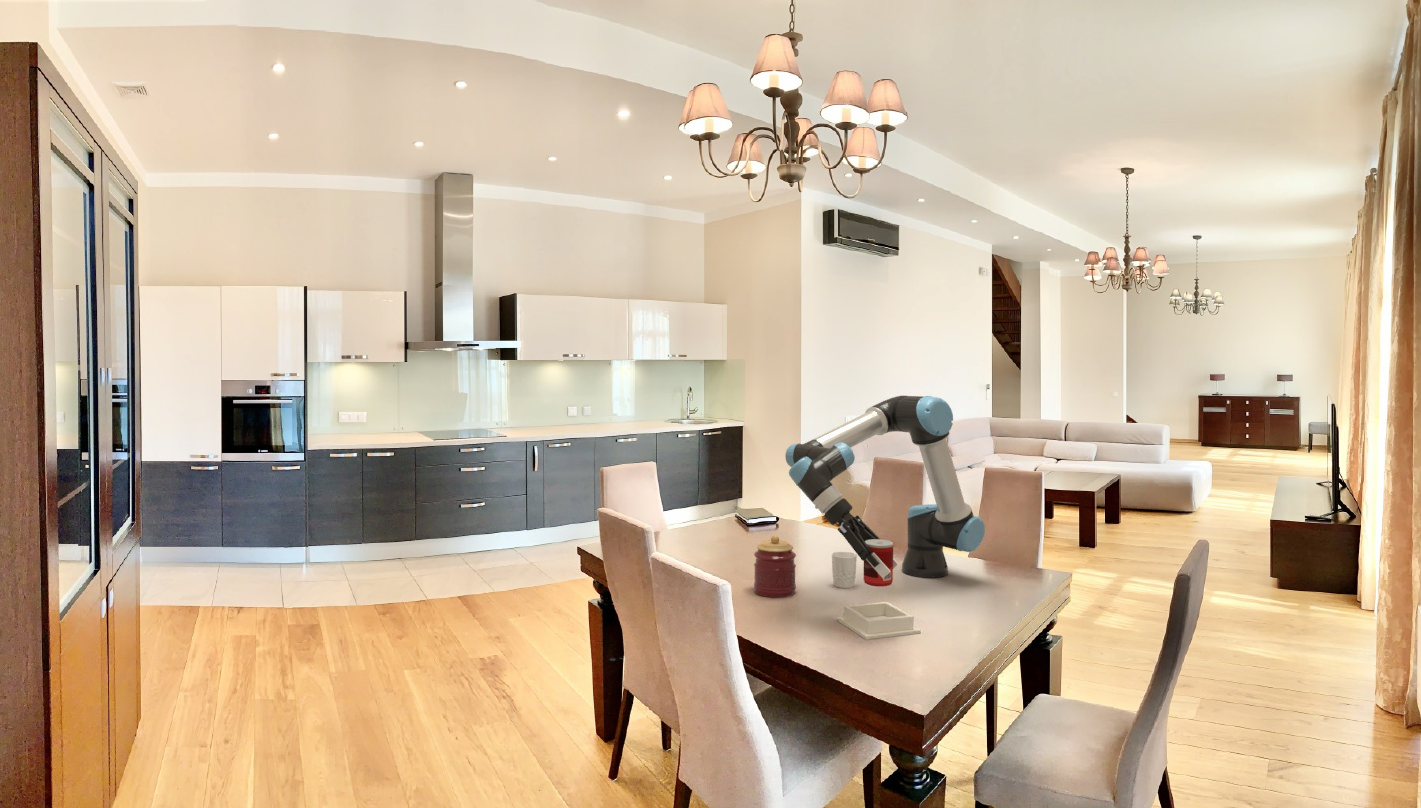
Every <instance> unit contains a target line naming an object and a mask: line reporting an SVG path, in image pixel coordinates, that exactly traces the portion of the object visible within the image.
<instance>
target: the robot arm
mask: <svg viewBox="0 0 1421 808" xmlns="http://www.w3.org/2000/svg"><path fill="white" fill-rule="evenodd" d="M953 415H954V414H953V411H952V408H951V406H950V405H949V403H948V402H947V401H946V400H945V399H943V398H941V397H937V396H931V395H925V396H921V395H920V396H919V395H898V396H894V397H891V398H888V399H885V400H883V401H881V402H879V403H876V404H874V405H872V406H870V407H868V408H867V409H866V410H865V412H864V413H863V414H861V415H859V416H857V417H855V418H853V419H852V420H849V421H847V422H845V423H843V424H841V425H839V426H837V427H836V428H833V429H831V430H829V431H827V432H825V433H823V434H821V435H819V436H817V437H815V438H813V439H811V440H809V441H806V442H805V443H793V444H790V445H789V446H788V447H787V448H786V450H785V451H786V452H785V461H786V463H787V465H788V466H789V467H790V468H789V471H788V475H789V477H790V478H791V480H792V481H793V482H794V484H795V485H796V486H797V487H798V488H799V489H800V490H801V491H802V493H803V494H804V495H805V496H806V497H807V498H808V499H809V501H811V503H812V504H813V505H814V508H815V509H816V510H818V511H819V512H820V513H822V514H824V518H825V519H826V520H827V521H828V522H829V523H830V524H831V525H832V526H834V525H836V524H838V525H839V527H838V528H837V531H838V532H839V533H840V535H842V537H844V539H845V540H846V541H847V543H848V544H849V546H850V547H851V548H852V549H853V551H854V552H855V554H856V555H857V557H859V558H860V560H861V561H862V562H864V560H865V559H866V560H867V561H868V562H869V563H870V564H871V566H872V567H873V568H874V569H875V570H876V571H877V572H878V574H879V575H880V576H881V577H882V578H884V577H885V576H886V575H887V574H889V573H890V572H891V571H890V570H889V569H888V568H887V567H886V565H885V564H884V563H883V562H882V561H881V560H880V559H879V557H878V556H877V555H876V554H875V553H874V552H873V553H872V552H871V550H870V549H869V547H868V546H867V544H866V543H865V541H866V540H871V539H881V538H880V537H879V536H878V535H877V534H876V532H874V531H873V530H872V529H871V528H870V527H869V526H868V525H867V524H866V523H865V522H864V521H863V520H862V519H861V517H860V516H859V515H855V516H854V515H853V514H851V513H850V512H851V511H852V509H853V506H852V505H851V503H850V502H849V501H848V500H847V499H846V498H844V497H843V494H842V493H841V492H840V491H839V490H838V489H837V487H835V485H834V484H833V483H832V482H831V481H833V479H835V478H836V477H838V476H839V475H840V474H842V473H844V472H845V471H847V470H848V468H850V466H852V465H853V464H854V463H855V454H854V451H853V450H852V449H853V447H854V446H857V445H859V444H862V442H864V441H867V440H868V439H870V438H873V437H874V436H883V435H885V434H887V433H893V432H903V433H909V435H910V438H911V439H910V440H911V441H912V443H913V445H915V446H918V447H919V451H920V454H921V458H922V461H923V464H924V468H925V471H926V474H927V477H928V481H929V483H930V484H929V485H930V487H931V491H932V494H933V496H934V500H935V504H918V505H917V504H916V505H912V506H911V507H909V509H908V511H907V512H908V513H907V519H906V520H907V550H906V552H905V555H904V558H903V561H902V563H901V571H902V572H903V573H904V574H906V575H908V576H912V577H919V578H925V579H927V578H929V579H931V578H935V579H936V578H943V577H946V576H948V574H949V567H948V563H947V561H946V560H947V559H946V556H945V554H944V550H943V549H944V548H949V549H952V550H956V551H958V552H966V553H971V552H974V551H976V550H977V549H978V548H979V547H980V546H981V544H982V541H983V539H984V538H985V537H984V536H985V532H986V531H985V530H986V528H985V527H986V525H985V522H984V520H983V519H982V518H980V517H979V516H975V515H974V513H973V509H972V507H971V505H970V504H969V503H967V502H965V500H964V496H963V492H962V490H961V486H960V483H959V478H958V475H957V471H956V468H955V465H954V462H953V458H952V456H951V451H950V447H949V444H948V440H947V438H948V437H949V436H950V431H951V429H952V426H953V425H954V424H953V421H954V416H953ZM898 565H899V562H898V561H897V560H896V559H895V558H894V557H893V569H895V568H896V567H897V566H898Z"/></svg>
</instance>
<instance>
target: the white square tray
mask: <svg viewBox="0 0 1421 808" xmlns="http://www.w3.org/2000/svg"><path fill="white" fill-rule="evenodd" d="M914 617H915V616H914V615H912V614H910V613H908V612H907V611H905V610H903V609H901V608H899V607H897V606H896V605H894V604H891V603H890V602H888V601H880V602H871V603H862V604H860V603H859V604H852V605H850V604H849V605H844V606H843V616H838V617H836V618H837V619H836V620H837V622H839V623H841V624H842V625H844V626H845V627H847V628H848V629H850V630H852V631H853V632H854V633H855V634H857V635H859V636H860V637H862V638H863V639H864V640H875V639H876V640H877V639H884V638H891V637H901V636H909V635H916V634H921V629H919V628H917V627H915V626H914V622H915V621H914Z"/></svg>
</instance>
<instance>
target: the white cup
mask: <svg viewBox="0 0 1421 808" xmlns="http://www.w3.org/2000/svg"><path fill="white" fill-rule="evenodd" d="M857 557H858V554H857V553H856V552H855V553H854V552H850V551H834V552H832V553H831V566H832V567H831V569H832V578H833V579H832V583H833V584H832V585H833V586H834V587H835V588H840V589H851V588H854V587H855V585H856V583H855V582H856V574H857V559H858V558H857Z"/></svg>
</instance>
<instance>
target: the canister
mask: <svg viewBox="0 0 1421 808" xmlns="http://www.w3.org/2000/svg"><path fill="white" fill-rule="evenodd" d="M756 548H757V551H755V552H754V553H753V555H754V557H755V562H754V564H753V566H754V582H753V589H754V592H755V593H756V594H757V595H758V596H762V597H768V598H769V597H770V598H786V597H790V596H792V595H794V594H796V588H797V587H796V586H797V584H796V568H797V565H796V563H795V558H796V557H797V555H796V553H795V552H794V551H793V550H794V546H793V544H790V542H787V541H784V540H780V537H779V536H778V535H772V536H771V537H770V539H769V540H764V541H762V542H761V543H759V544H757V546H756Z"/></svg>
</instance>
